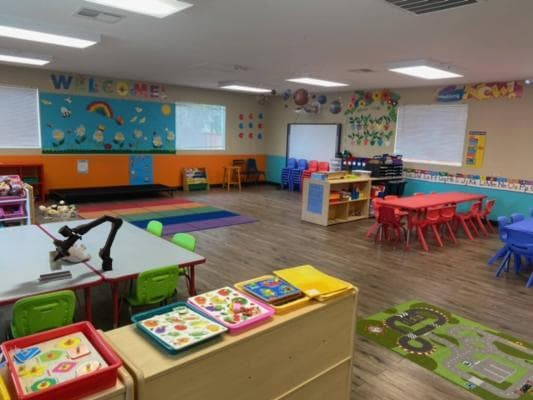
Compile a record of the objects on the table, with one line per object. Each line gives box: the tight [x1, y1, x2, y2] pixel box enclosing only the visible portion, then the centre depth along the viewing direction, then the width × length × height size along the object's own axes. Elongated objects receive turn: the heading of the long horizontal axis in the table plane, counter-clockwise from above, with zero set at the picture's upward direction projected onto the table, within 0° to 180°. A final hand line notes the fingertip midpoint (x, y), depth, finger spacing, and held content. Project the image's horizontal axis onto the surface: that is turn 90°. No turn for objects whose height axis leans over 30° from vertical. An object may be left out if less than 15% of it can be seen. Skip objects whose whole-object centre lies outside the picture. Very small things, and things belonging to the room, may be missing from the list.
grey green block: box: [48, 249, 63, 272], centre depth 262 cm, size 6×4×12 cm, turn 129°
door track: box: [39, 269, 73, 284], centre depth 265 cm, size 18×10×2 cm, turn 126°
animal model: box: [61, 243, 93, 264], centre depth 302 cm, size 13×26×16 cm
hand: (53, 259), depth 261 cm, fingers closed on grey green block, 4 cm apart
